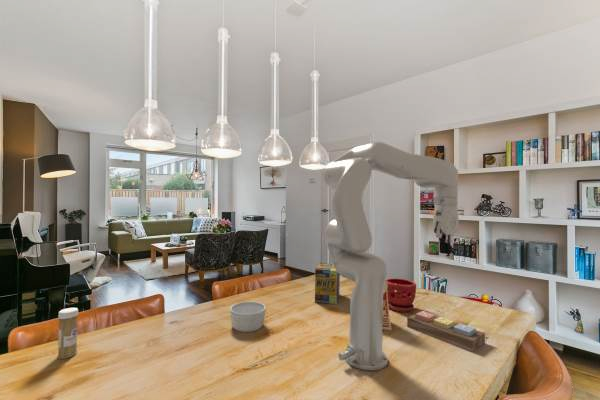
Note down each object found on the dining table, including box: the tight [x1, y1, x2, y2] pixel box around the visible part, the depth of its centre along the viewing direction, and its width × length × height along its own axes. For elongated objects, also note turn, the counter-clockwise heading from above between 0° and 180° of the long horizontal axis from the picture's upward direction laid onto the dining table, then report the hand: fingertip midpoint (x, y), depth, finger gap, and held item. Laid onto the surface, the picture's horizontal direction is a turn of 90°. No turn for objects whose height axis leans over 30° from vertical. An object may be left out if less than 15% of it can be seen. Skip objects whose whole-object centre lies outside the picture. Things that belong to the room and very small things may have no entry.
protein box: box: [314, 262, 341, 305], centre depth 141 cm, size 10×15×16 cm
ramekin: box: [229, 301, 267, 333], centre depth 108 cm, size 13×13×7 cm
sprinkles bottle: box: [57, 307, 79, 360], centre depth 86 cm, size 5×5×14 cm
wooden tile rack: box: [406, 313, 486, 353], centre depth 104 cm, size 10×23×3 cm, turn 37°
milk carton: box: [383, 281, 393, 331], centre depth 112 cm, size 9×9×20 cm
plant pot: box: [386, 278, 417, 313], centre depth 130 cm, size 13×13×12 cm
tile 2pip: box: [433, 316, 455, 330], centre depth 104 cm, size 5×5×4 cm
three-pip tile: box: [415, 310, 436, 323], centre depth 110 cm, size 5×5×4 cm
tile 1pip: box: [453, 322, 477, 338], centre depth 98 cm, size 5×5×4 cm
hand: (444, 253), depth 104 cm, fingers closed
